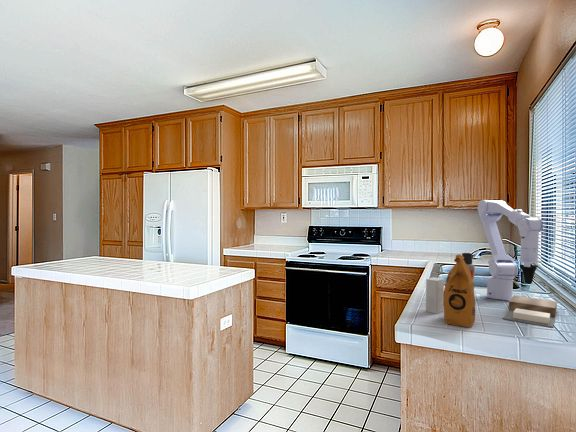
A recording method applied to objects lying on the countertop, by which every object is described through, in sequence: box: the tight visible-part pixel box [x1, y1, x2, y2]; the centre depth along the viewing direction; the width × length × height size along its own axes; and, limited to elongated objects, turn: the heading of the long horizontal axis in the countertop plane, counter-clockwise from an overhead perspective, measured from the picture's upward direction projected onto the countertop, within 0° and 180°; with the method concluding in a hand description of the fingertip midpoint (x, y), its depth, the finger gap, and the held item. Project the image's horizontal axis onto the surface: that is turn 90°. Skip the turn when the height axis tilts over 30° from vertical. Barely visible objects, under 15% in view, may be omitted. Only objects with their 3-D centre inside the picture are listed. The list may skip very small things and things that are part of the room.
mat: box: [502, 309, 556, 329], centre depth 126 cm, size 14×14×1 cm
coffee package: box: [443, 254, 476, 328], centre depth 121 cm, size 10×12×22 cm
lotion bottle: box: [461, 252, 476, 288], centre depth 151 cm, size 6×6×20 cm
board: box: [508, 295, 558, 318], centre depth 137 cm, size 14×13×4 cm
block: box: [513, 308, 550, 324], centre depth 125 cm, size 10×7×2 cm
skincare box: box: [425, 277, 445, 315], centre depth 133 cm, size 6×4×12 cm
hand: (528, 283), depth 142 cm, fingers closed
